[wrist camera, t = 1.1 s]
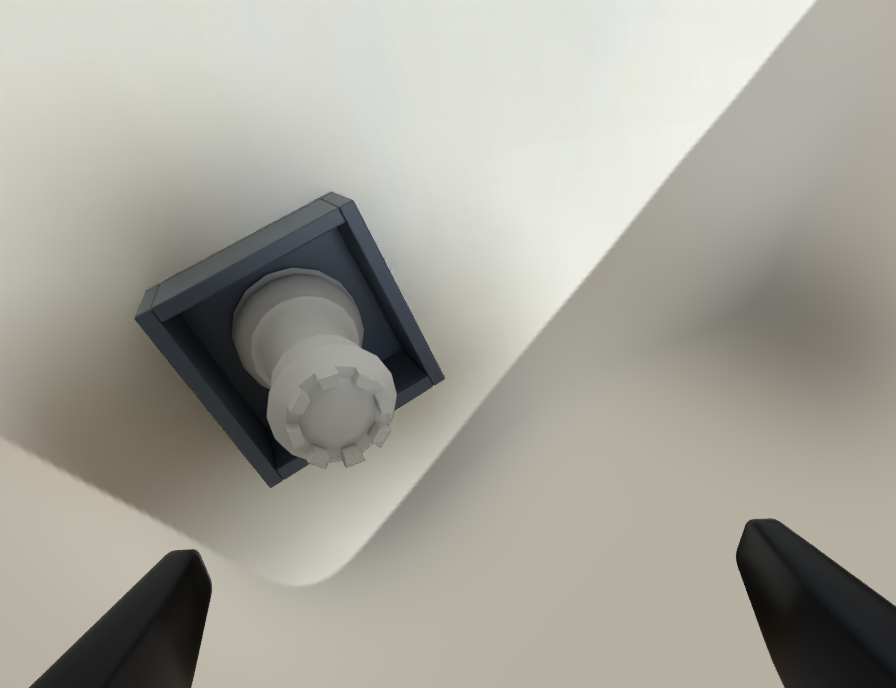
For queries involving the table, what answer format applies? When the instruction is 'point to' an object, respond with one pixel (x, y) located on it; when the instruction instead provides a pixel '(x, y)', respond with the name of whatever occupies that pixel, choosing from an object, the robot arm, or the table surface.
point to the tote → (237, 269)
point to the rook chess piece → (314, 366)
